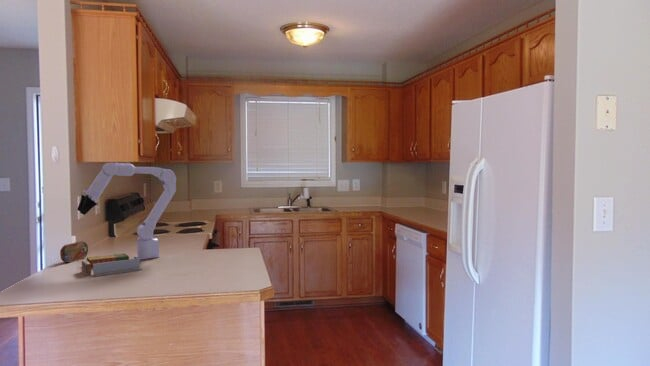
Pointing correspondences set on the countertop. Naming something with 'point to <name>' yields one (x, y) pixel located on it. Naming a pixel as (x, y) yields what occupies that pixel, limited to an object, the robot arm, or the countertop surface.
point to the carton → (107, 258)
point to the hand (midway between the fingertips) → (80, 212)
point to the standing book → (86, 267)
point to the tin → (74, 251)
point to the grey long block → (116, 267)
